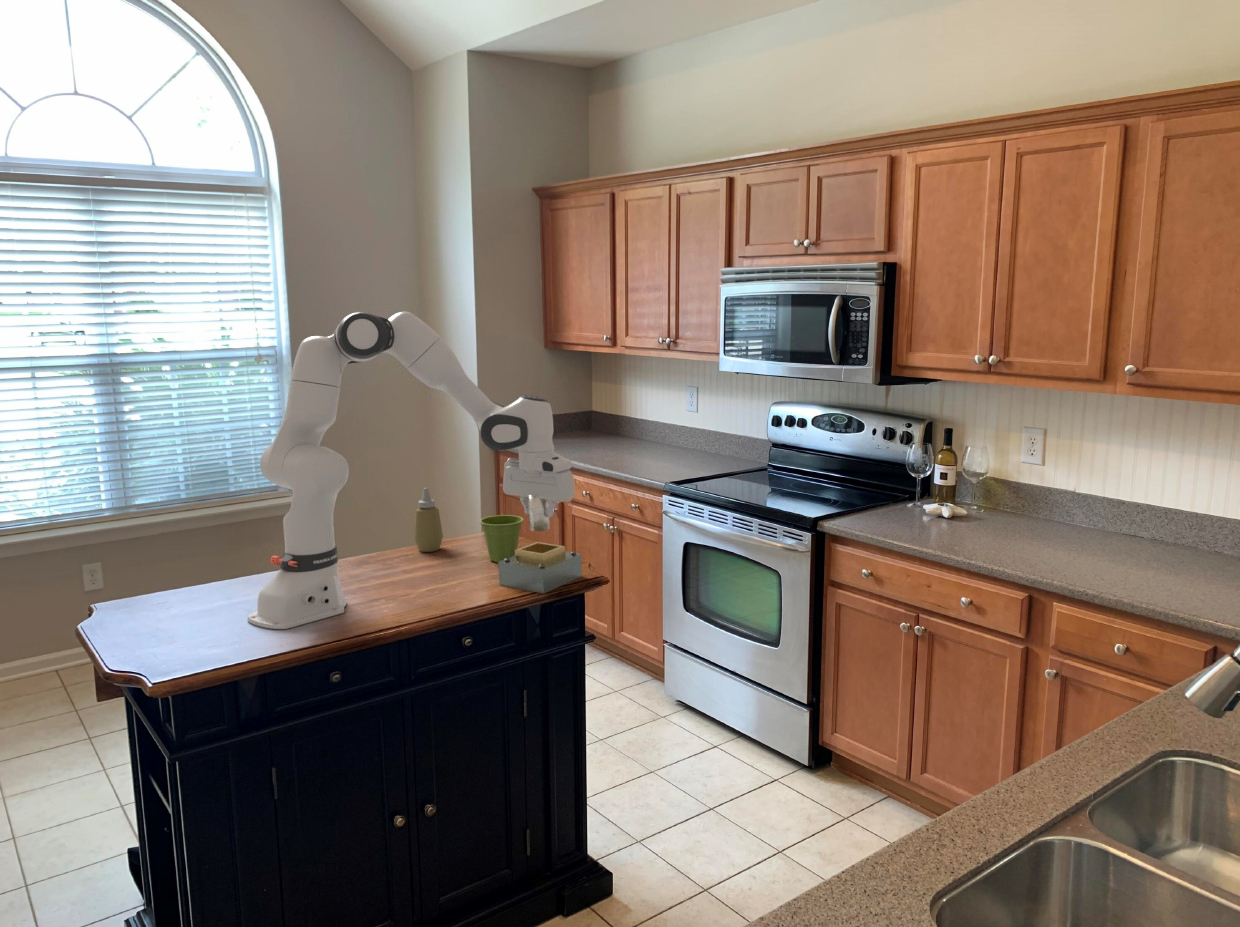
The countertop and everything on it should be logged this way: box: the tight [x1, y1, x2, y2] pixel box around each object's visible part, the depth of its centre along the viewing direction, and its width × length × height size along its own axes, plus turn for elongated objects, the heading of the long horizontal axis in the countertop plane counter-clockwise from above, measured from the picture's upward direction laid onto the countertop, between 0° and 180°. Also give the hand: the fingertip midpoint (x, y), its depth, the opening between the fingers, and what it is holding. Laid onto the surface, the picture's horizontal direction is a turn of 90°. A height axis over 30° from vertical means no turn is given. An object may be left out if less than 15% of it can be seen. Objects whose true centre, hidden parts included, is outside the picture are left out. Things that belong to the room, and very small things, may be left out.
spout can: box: [528, 495, 550, 532], centre depth 238 cm, size 5×5×11 cm
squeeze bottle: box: [413, 487, 444, 553], centre depth 270 cm, size 8×8×18 cm
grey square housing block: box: [498, 541, 583, 594], centre depth 241 cm, size 16×14×8 cm
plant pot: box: [479, 514, 524, 564], centre depth 260 cm, size 12×12×11 cm
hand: (538, 515), depth 238 cm, fingers closed on spout can, 5 cm apart
